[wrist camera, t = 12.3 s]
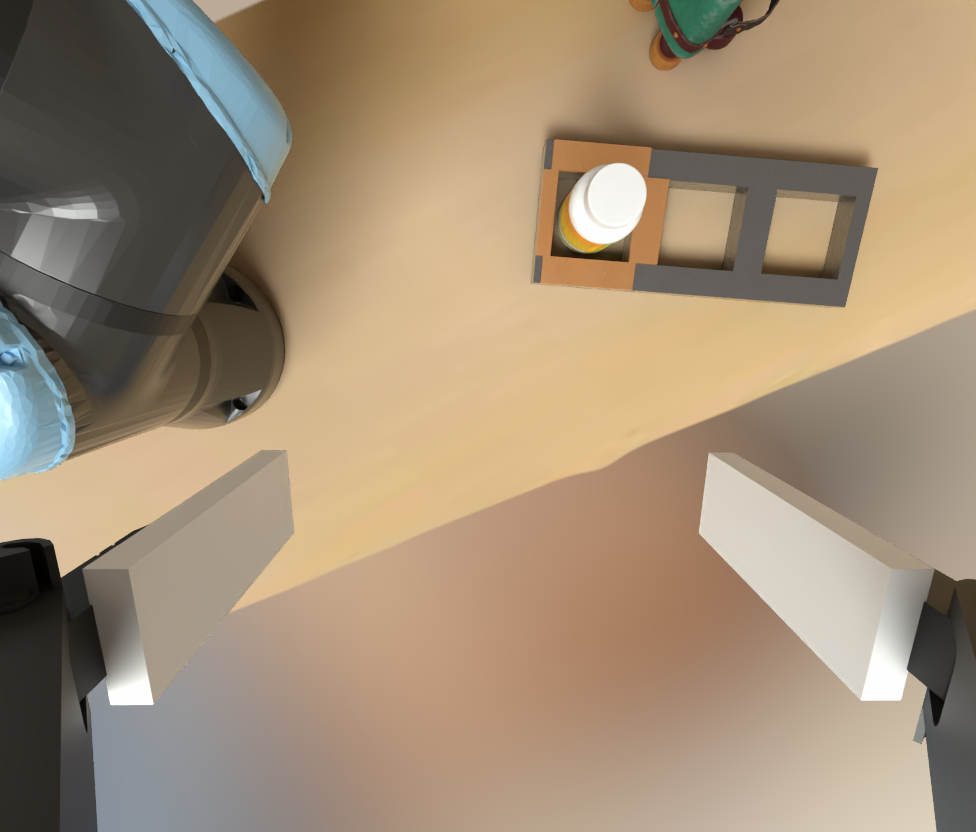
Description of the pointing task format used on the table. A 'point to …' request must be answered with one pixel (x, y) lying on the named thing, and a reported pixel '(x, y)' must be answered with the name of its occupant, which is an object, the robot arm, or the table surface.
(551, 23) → the table surface
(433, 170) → the table surface
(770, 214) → the hole rail
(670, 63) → the binoculars
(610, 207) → the supplement bottle
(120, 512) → the table surface
